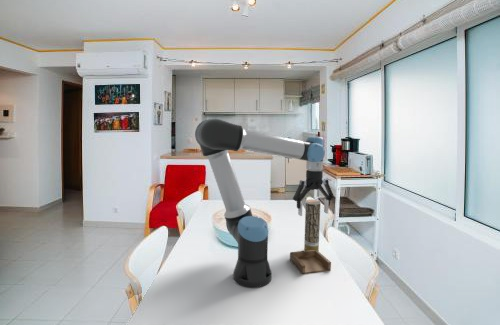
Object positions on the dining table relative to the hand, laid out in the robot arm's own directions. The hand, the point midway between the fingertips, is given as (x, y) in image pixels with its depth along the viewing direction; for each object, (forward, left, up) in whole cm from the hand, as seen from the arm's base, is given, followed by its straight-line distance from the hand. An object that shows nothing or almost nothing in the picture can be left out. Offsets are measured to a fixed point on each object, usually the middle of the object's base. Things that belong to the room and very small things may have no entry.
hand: (313, 213), depth 135 cm
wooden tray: (-7, -12, -19) cm, 23 cm away
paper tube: (0, 0, -19) cm, 19 cm away
